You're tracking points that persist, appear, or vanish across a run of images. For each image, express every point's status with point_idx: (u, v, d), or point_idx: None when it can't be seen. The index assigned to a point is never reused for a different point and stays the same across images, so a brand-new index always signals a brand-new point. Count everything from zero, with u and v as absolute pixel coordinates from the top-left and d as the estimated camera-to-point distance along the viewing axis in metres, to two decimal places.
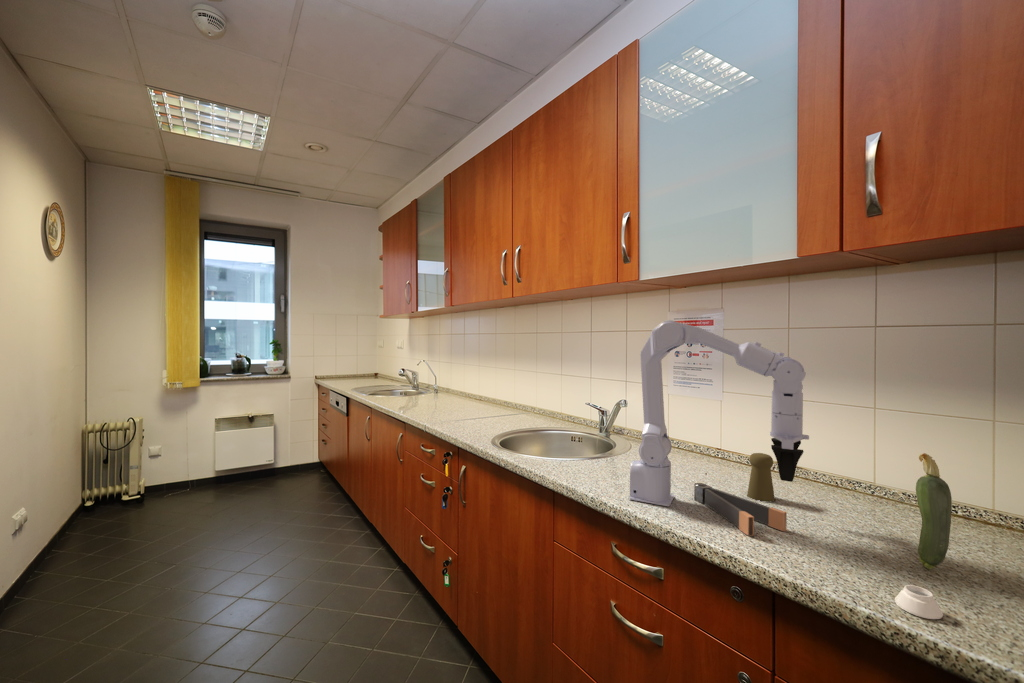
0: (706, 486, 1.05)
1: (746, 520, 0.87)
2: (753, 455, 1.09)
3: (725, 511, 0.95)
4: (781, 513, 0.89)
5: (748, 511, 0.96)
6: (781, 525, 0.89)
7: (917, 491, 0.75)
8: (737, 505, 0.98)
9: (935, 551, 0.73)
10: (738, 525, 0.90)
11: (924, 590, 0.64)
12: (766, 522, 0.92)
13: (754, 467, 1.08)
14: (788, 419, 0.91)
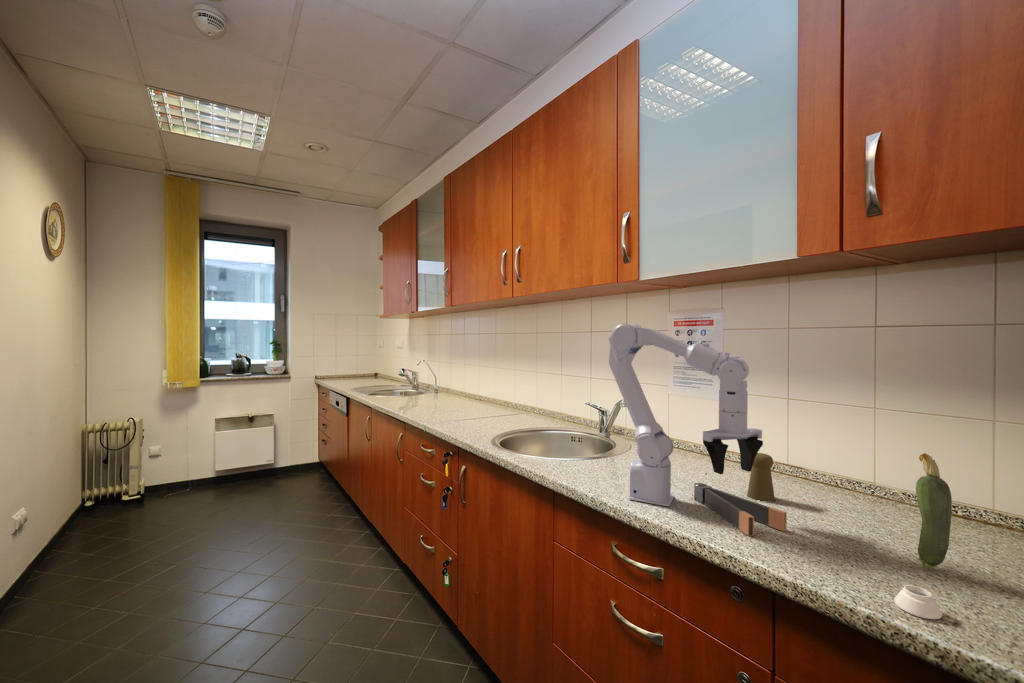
0: (706, 486, 1.05)
1: (746, 520, 0.87)
2: None
3: (725, 511, 0.95)
4: (781, 513, 0.89)
5: (748, 511, 0.96)
6: (781, 525, 0.89)
7: (917, 491, 0.75)
8: (737, 505, 0.98)
9: (935, 551, 0.73)
10: (738, 525, 0.90)
11: (923, 590, 0.64)
12: (766, 522, 0.92)
13: (754, 467, 1.08)
14: (723, 415, 0.96)
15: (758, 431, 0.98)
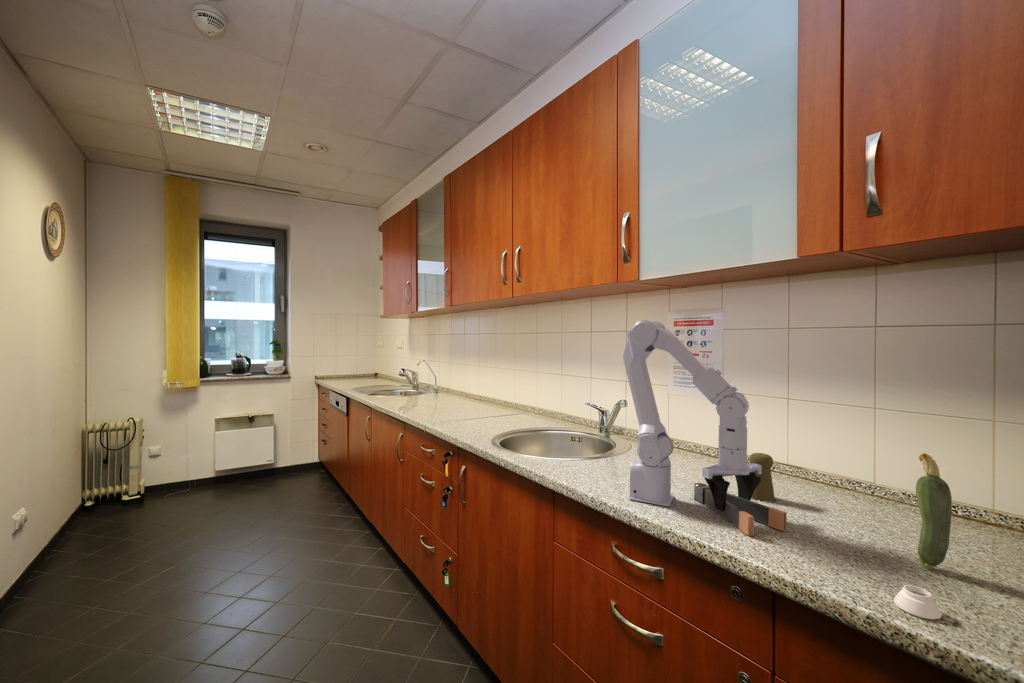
0: (706, 486, 1.05)
1: (746, 520, 0.87)
2: (753, 455, 1.09)
3: (725, 511, 0.95)
4: (781, 513, 0.89)
5: (748, 511, 0.96)
6: (781, 525, 0.89)
7: (917, 491, 0.75)
8: (737, 505, 0.98)
9: (935, 551, 0.73)
10: (738, 525, 0.90)
11: (923, 590, 0.64)
12: (766, 522, 0.92)
13: None
14: (722, 452, 0.96)
15: (758, 467, 0.98)
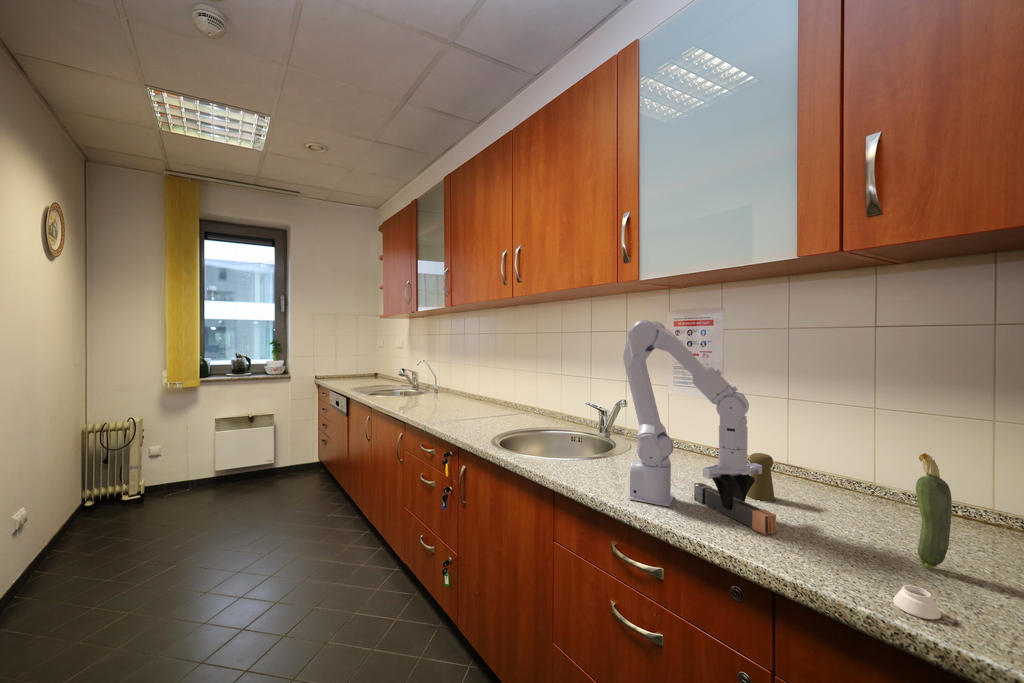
0: (706, 486, 1.05)
1: (762, 519, 0.88)
2: (753, 455, 1.09)
3: (733, 511, 0.95)
4: (770, 515, 0.88)
5: None
6: (770, 527, 0.88)
7: (917, 491, 0.75)
8: None
9: (935, 551, 0.73)
10: (751, 524, 0.90)
11: (922, 590, 0.63)
12: None
13: None
14: (723, 452, 0.96)
15: (758, 467, 0.98)
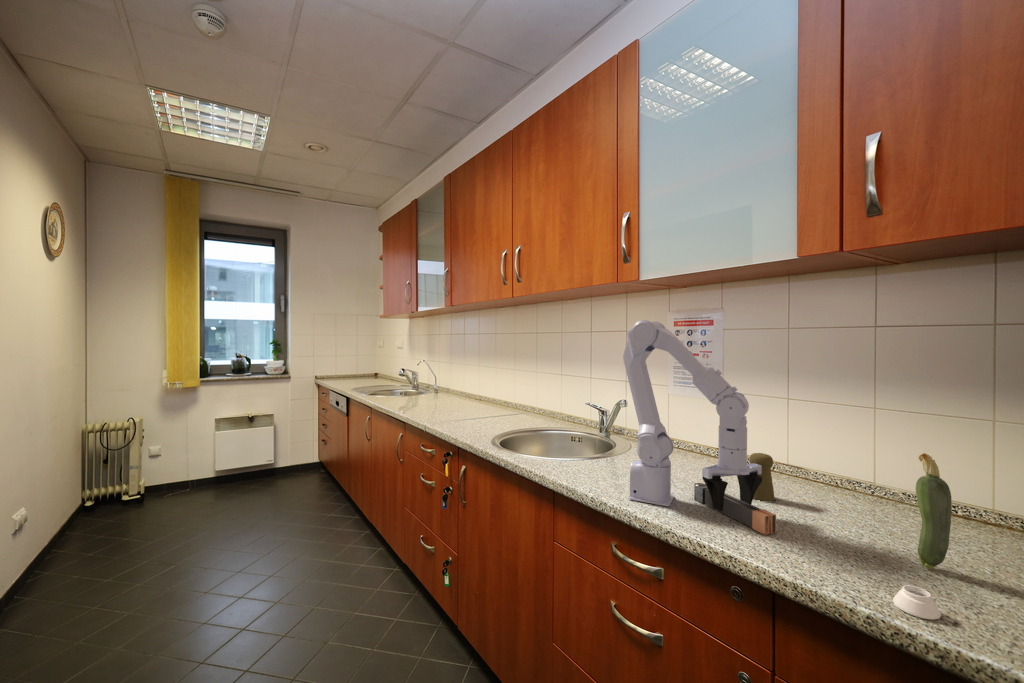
0: (706, 486, 1.05)
1: (762, 519, 0.88)
2: (753, 455, 1.09)
3: (733, 511, 0.95)
4: (770, 515, 0.88)
5: None
6: (770, 527, 0.88)
7: (917, 491, 0.75)
8: None
9: (935, 551, 0.73)
10: (751, 524, 0.90)
11: (922, 590, 0.63)
12: None
13: None
14: (722, 452, 0.96)
15: (758, 467, 0.98)
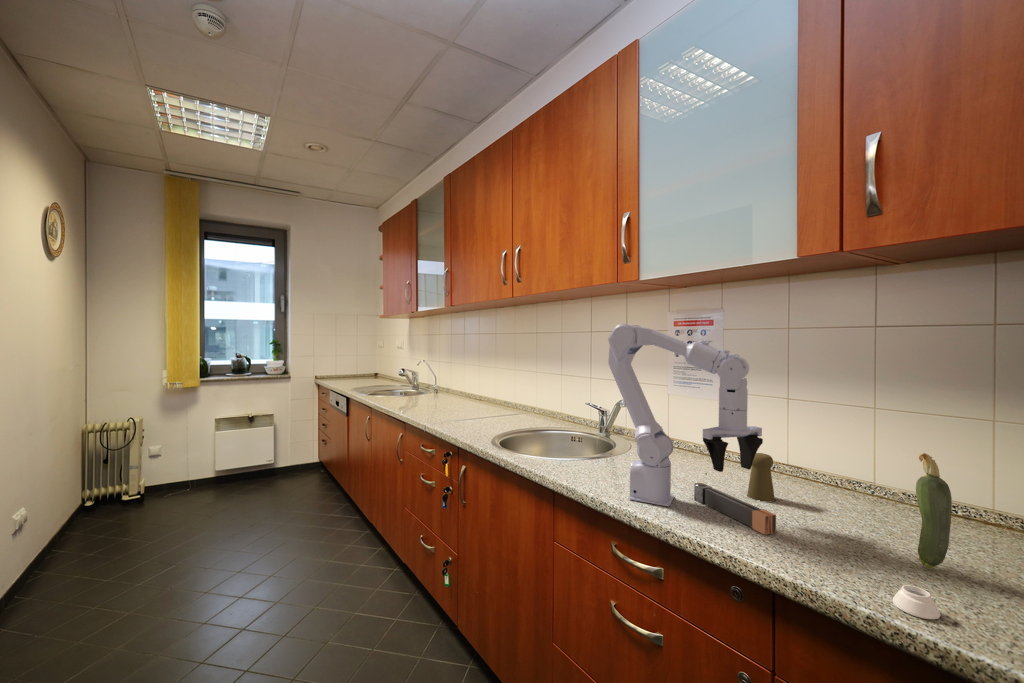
0: (706, 486, 1.05)
1: (762, 519, 0.88)
2: None
3: (733, 511, 0.95)
4: (770, 515, 0.88)
5: None
6: (770, 527, 0.88)
7: (917, 491, 0.75)
8: None
9: (935, 551, 0.73)
10: (751, 524, 0.90)
11: (922, 590, 0.63)
12: None
13: (754, 467, 1.08)
14: (723, 413, 0.96)
15: (758, 429, 0.98)
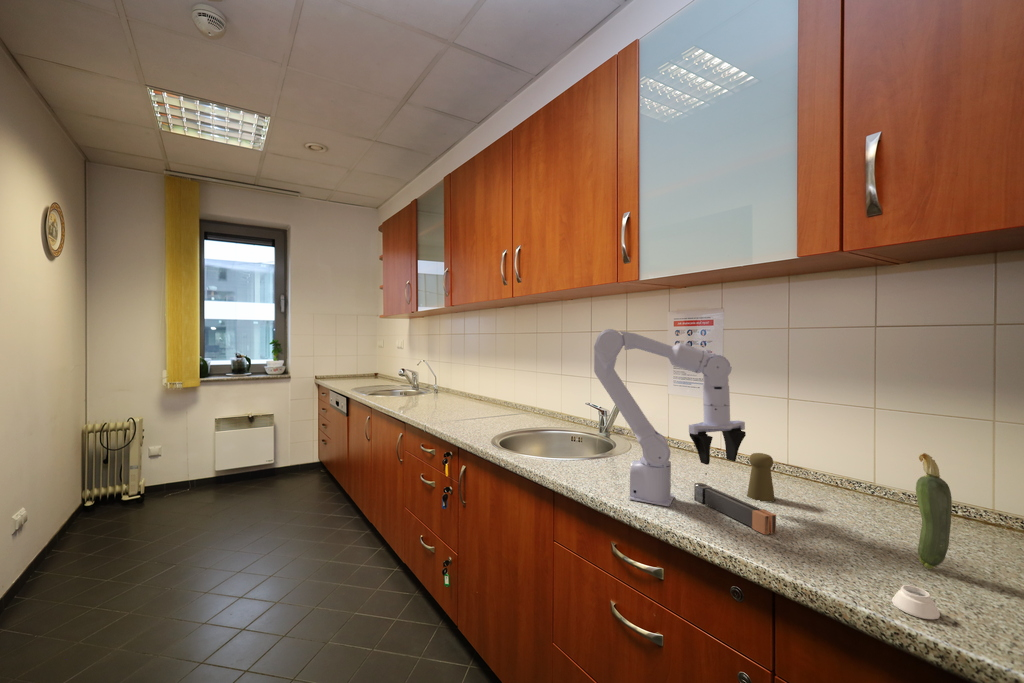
0: (706, 486, 1.05)
1: (762, 519, 0.88)
2: (753, 455, 1.09)
3: (733, 511, 0.95)
4: (770, 515, 0.88)
5: None
6: (770, 527, 0.88)
7: (917, 491, 0.75)
8: None
9: (935, 551, 0.73)
10: (751, 524, 0.90)
11: (921, 590, 0.63)
12: None
13: (754, 467, 1.08)
14: (707, 409, 1.02)
15: (741, 423, 1.04)
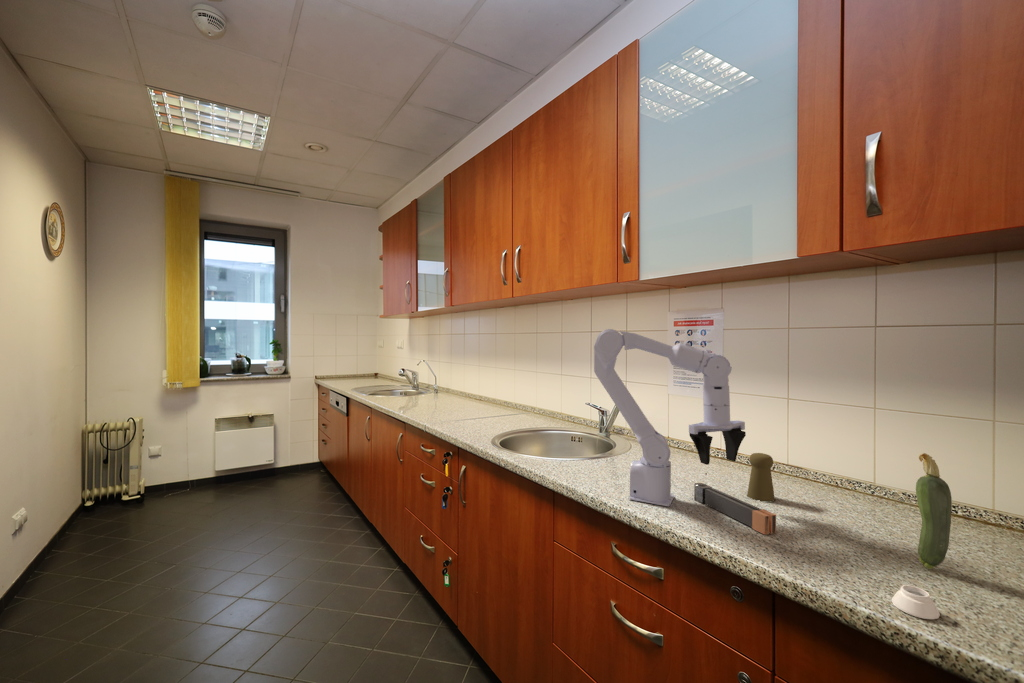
0: (706, 486, 1.05)
1: (762, 519, 0.88)
2: (753, 455, 1.09)
3: (733, 511, 0.95)
4: (770, 515, 0.88)
5: None
6: (770, 527, 0.88)
7: (917, 491, 0.75)
8: None
9: (935, 551, 0.73)
10: (751, 524, 0.90)
11: (921, 590, 0.63)
12: None
13: (754, 467, 1.08)
14: (707, 409, 1.02)
15: (741, 423, 1.04)
